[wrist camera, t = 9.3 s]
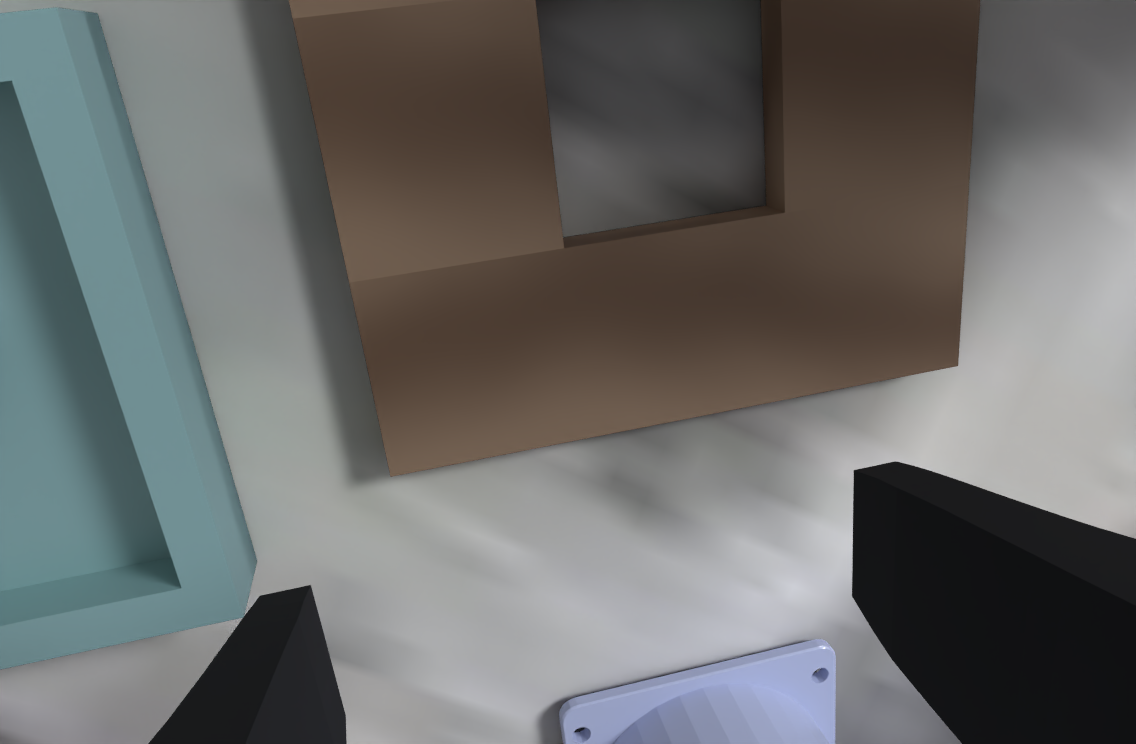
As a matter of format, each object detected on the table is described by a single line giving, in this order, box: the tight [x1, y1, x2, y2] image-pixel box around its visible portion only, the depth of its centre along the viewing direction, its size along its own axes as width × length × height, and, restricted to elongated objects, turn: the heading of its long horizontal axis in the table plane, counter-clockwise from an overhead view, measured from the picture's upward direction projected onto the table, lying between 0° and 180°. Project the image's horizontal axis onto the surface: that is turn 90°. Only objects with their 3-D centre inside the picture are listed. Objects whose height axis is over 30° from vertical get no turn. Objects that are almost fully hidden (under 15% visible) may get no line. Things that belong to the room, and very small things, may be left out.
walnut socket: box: [289, 0, 980, 477], centre depth 18 cm, size 14×14×1 cm
